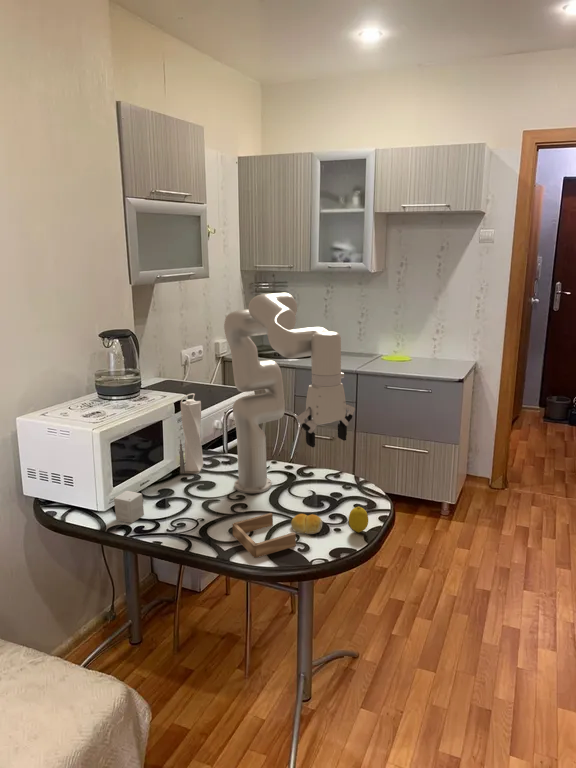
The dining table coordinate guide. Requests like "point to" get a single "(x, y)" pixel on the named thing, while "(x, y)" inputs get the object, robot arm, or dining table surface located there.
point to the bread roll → (306, 524)
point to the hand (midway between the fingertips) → (326, 442)
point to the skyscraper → (191, 436)
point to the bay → (265, 546)
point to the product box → (129, 506)
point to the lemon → (358, 519)
